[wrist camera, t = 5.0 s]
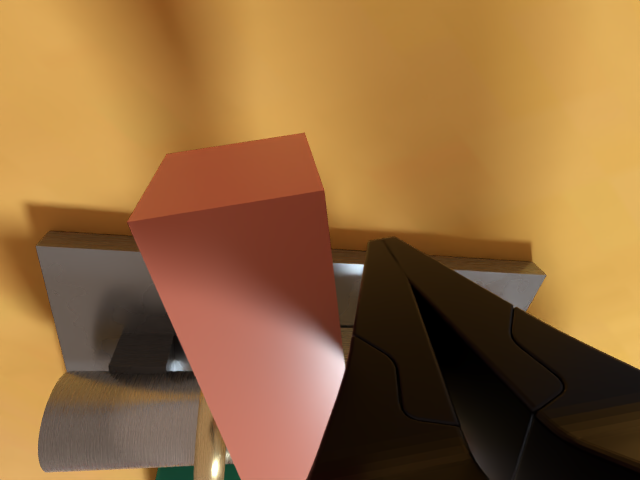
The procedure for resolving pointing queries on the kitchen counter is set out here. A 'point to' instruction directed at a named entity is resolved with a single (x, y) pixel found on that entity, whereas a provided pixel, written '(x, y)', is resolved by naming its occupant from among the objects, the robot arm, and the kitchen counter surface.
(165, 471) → the digital multimeter
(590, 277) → the kitchen counter surface
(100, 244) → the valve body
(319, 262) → the lever
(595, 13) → the kitchen counter surface
